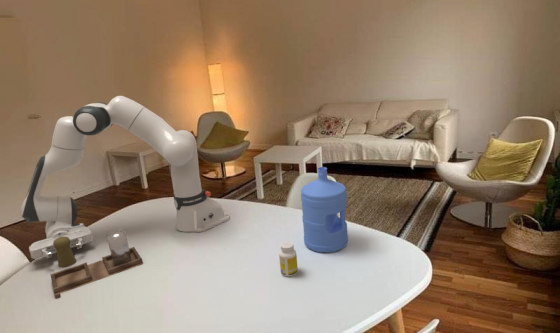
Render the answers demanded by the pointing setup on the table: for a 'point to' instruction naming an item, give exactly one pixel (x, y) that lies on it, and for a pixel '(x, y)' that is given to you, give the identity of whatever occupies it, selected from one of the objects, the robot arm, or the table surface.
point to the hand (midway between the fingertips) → (64, 251)
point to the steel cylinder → (119, 247)
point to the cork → (64, 252)
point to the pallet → (90, 272)
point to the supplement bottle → (288, 259)
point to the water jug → (324, 214)
